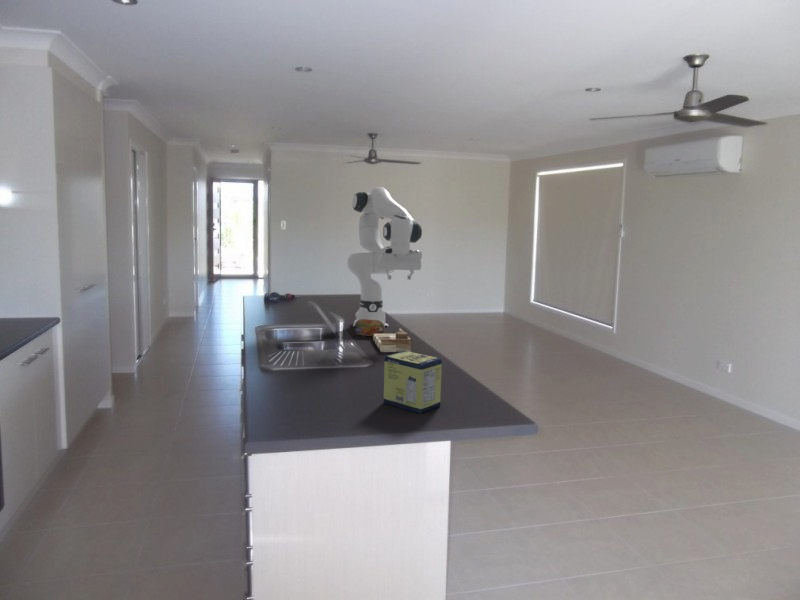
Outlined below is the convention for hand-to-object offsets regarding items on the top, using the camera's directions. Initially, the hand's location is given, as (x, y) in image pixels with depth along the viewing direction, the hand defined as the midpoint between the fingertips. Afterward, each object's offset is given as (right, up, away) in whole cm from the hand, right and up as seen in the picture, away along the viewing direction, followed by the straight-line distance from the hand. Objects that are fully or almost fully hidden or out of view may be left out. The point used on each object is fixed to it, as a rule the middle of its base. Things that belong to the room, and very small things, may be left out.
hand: (399, 279), depth 274 cm
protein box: (+4, -43, -88) cm, 98 cm away
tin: (-15, -28, +12) cm, 33 cm away
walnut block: (+1, -29, -14) cm, 32 cm away
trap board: (-4, -30, -7) cm, 31 cm away
